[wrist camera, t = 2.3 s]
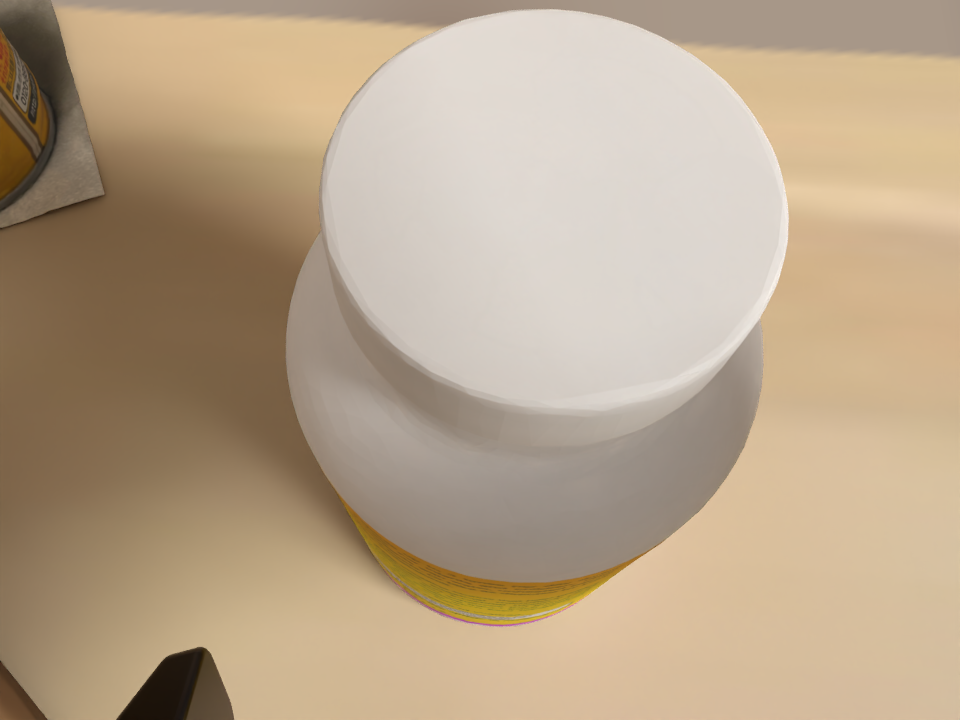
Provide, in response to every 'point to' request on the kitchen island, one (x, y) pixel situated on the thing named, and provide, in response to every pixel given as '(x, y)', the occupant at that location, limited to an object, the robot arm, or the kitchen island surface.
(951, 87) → the kitchen island surface
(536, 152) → the supplement bottle
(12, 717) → the walnut caddy
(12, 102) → the condiment
